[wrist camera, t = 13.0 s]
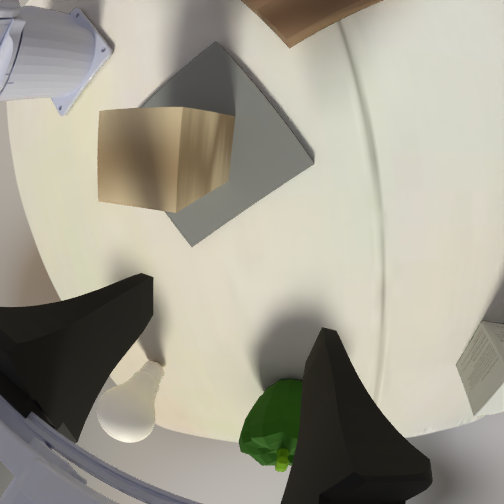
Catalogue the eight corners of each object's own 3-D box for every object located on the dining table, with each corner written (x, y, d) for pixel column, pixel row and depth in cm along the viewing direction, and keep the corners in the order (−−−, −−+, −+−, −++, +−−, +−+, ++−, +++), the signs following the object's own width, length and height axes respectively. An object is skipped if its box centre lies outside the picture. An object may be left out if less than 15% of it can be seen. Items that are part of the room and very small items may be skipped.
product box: (515, 323, 18) (545, 368, 12) (489, 365, 21) (510, 412, 14) (481, 319, 19) (511, 371, 13) (453, 365, 22) (472, 418, 15)
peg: (174, 113, 18) (99, 111, 10) (235, 116, 17) (182, 106, 10) (170, 174, 20) (98, 201, 12) (228, 181, 19) (176, 213, 12)
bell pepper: (305, 421, 29) (295, 493, 20) (243, 398, 29) (219, 472, 20) (347, 385, 25) (347, 471, 16) (276, 357, 25) (255, 448, 16)
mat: (117, 139, 20) (113, 139, 19) (218, 43, 15) (215, 41, 15) (194, 244, 22) (191, 247, 22) (314, 163, 18) (314, 163, 17)
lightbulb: (128, 341, 29) (75, 408, 19) (173, 348, 28) (123, 428, 18) (145, 377, 31) (103, 441, 22) (187, 385, 30) (149, 460, 20)
